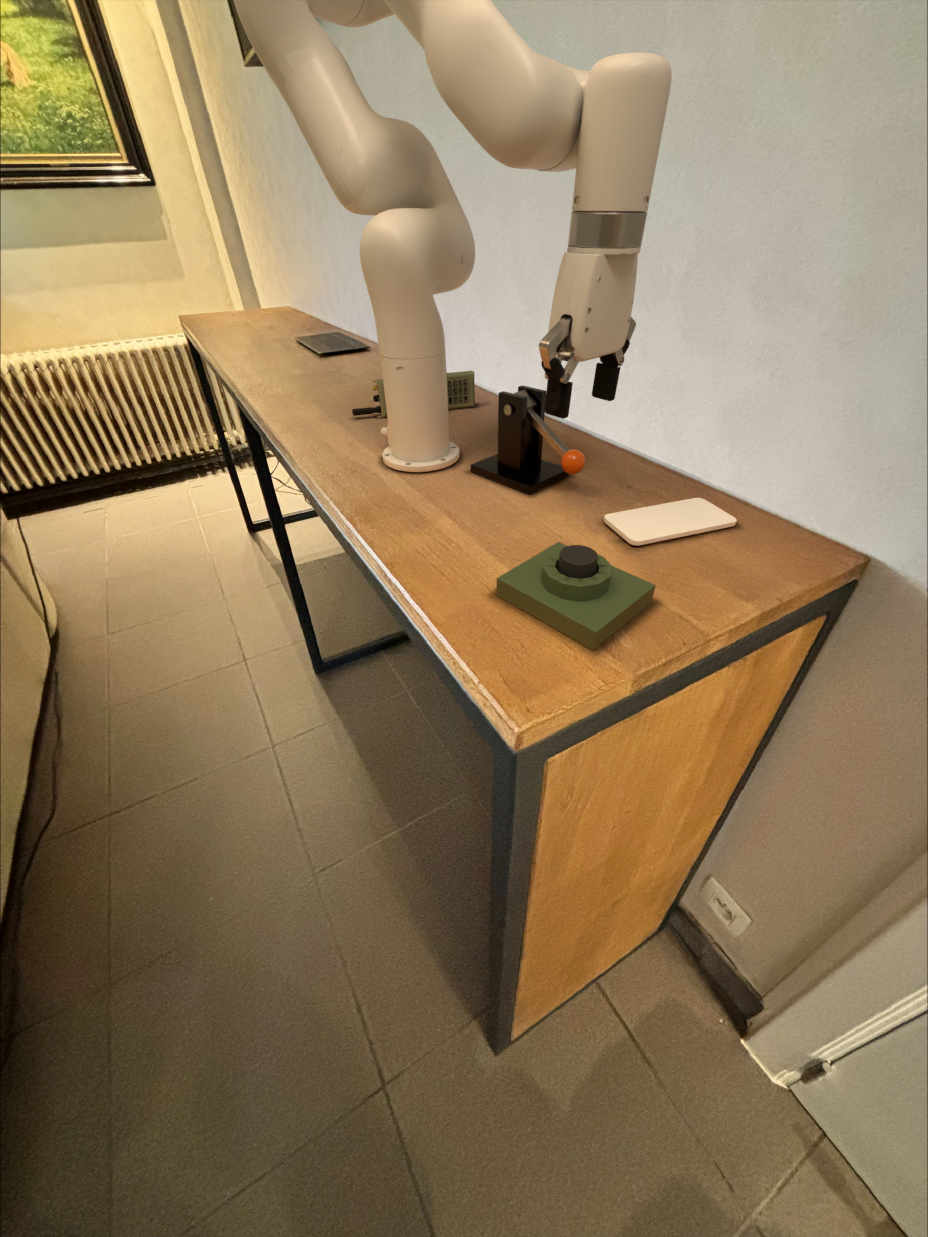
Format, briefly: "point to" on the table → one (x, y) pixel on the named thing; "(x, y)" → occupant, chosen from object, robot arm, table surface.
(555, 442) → the switch lever
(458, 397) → the handheld radio
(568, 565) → the push button
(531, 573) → the button box
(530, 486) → the switch bracket
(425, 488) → the table surface
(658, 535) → the smartphone
